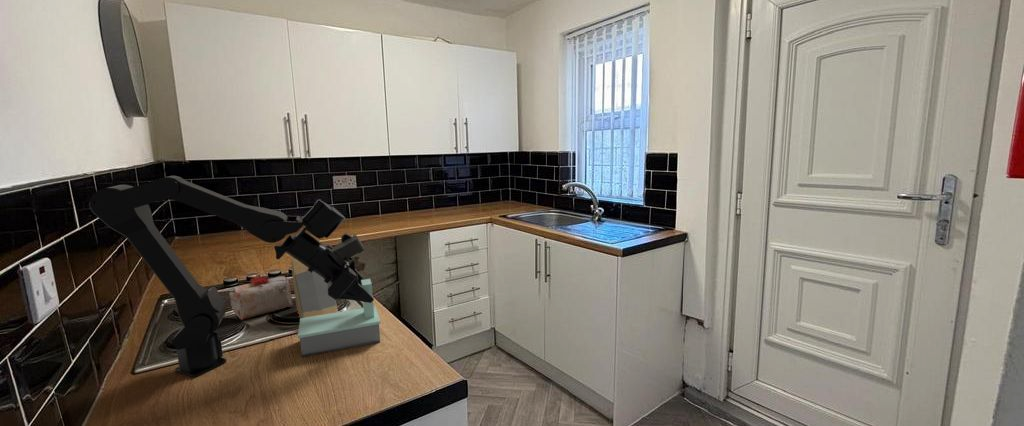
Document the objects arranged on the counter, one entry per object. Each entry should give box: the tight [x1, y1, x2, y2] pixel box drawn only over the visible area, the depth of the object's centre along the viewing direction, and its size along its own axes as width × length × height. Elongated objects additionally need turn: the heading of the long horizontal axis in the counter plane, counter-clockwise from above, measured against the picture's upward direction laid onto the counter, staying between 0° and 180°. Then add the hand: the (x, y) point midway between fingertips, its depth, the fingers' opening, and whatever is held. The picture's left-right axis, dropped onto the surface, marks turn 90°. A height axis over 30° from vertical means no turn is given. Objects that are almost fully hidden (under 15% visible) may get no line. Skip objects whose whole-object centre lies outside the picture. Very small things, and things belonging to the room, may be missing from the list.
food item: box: [228, 274, 294, 321], centre depth 114 cm, size 14×8×10 cm, turn 132°
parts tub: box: [299, 324, 381, 358], centre depth 97 cm, size 16×9×4 cm, turn 113°
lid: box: [297, 278, 381, 339], centre depth 96 cm, size 17×10×10 cm, turn 113°
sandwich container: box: [290, 257, 339, 318], centre depth 109 cm, size 9×15×15 cm, turn 34°
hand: (370, 294), depth 98 cm, fingers open, 9 cm apart
